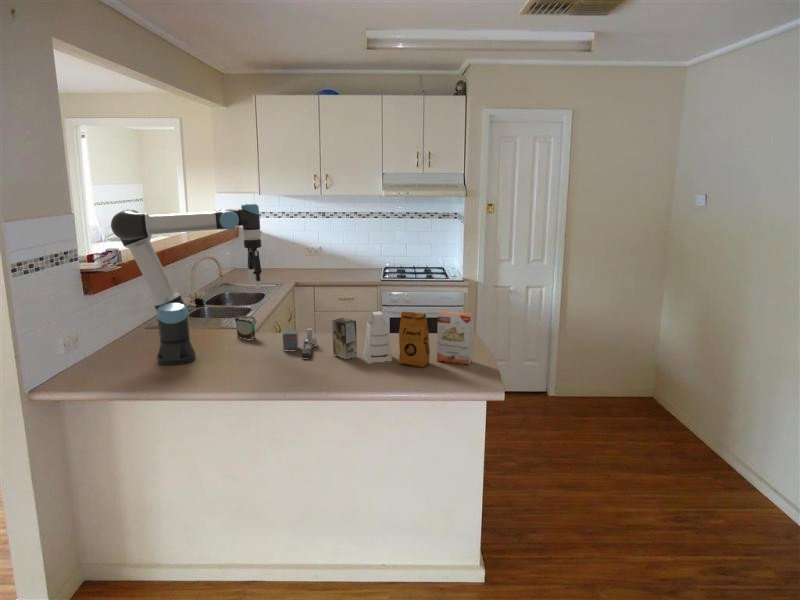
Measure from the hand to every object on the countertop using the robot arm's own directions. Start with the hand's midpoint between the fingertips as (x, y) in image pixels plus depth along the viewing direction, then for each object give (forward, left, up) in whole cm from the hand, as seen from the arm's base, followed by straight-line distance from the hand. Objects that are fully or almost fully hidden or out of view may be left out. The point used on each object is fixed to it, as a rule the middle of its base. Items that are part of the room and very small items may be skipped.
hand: (255, 285), depth 254 cm
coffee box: (-23, -41, -28) cm, 54 cm away
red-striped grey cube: (-11, -16, -27) cm, 34 cm away
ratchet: (-14, -24, -27) cm, 39 cm away
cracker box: (-33, -87, -28) cm, 97 cm away
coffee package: (-35, -70, -28) cm, 83 cm away
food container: (+10, +6, -28) cm, 30 cm away
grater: (-27, -55, -28) cm, 67 cm away
